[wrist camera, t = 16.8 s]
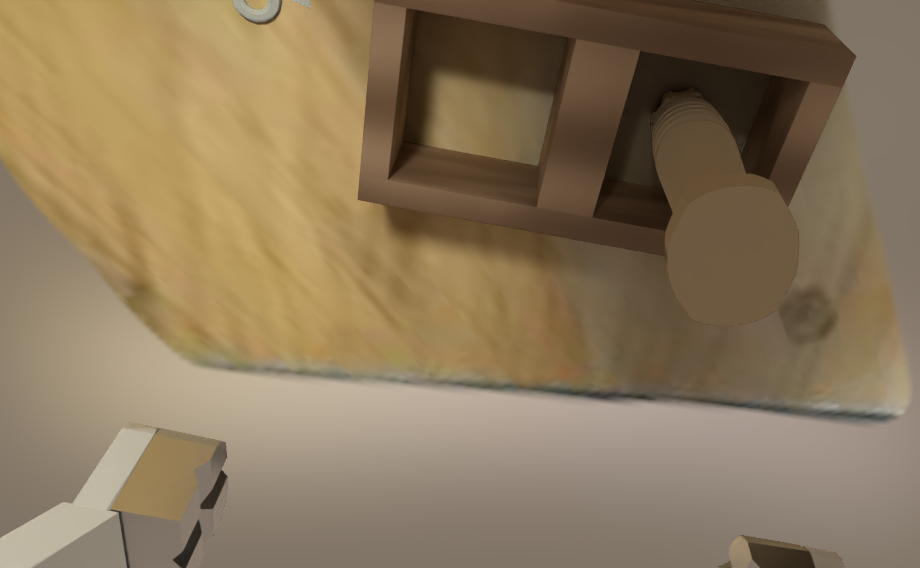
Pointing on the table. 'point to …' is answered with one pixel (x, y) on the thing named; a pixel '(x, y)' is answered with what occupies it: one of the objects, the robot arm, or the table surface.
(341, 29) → the table surface
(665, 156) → the handle
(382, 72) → the divided box
